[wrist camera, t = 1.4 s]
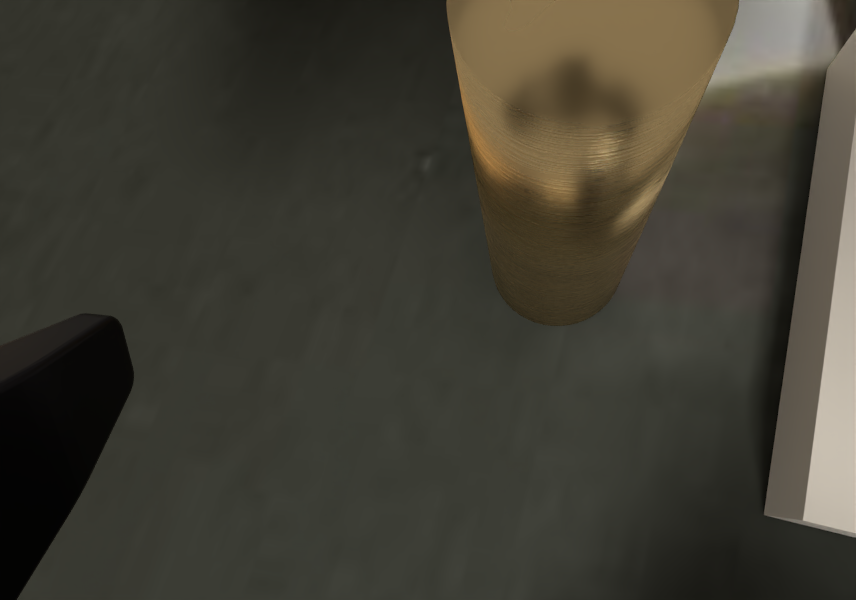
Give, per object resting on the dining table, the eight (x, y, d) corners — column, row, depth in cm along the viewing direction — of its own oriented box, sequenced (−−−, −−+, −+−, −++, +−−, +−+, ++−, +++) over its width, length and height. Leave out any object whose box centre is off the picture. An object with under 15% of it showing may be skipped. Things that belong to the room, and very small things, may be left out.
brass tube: (632, 215, 23) (759, -115, 10) (608, 338, 22) (714, 143, 9) (507, 193, 23) (481, -141, 11) (479, 311, 23) (416, 97, 10)
